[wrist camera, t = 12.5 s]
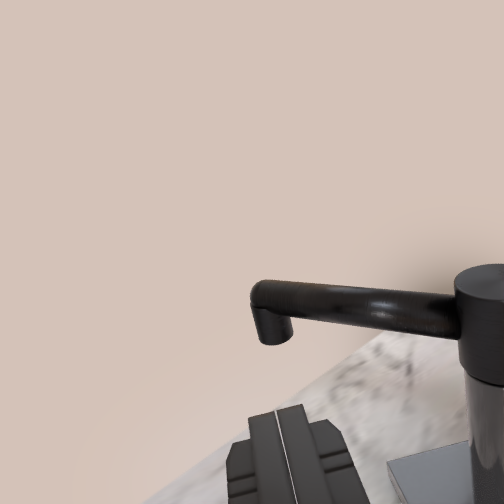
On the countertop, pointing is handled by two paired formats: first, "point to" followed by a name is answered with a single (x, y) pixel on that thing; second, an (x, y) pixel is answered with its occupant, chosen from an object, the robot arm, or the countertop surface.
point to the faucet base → (460, 457)
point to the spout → (398, 313)
